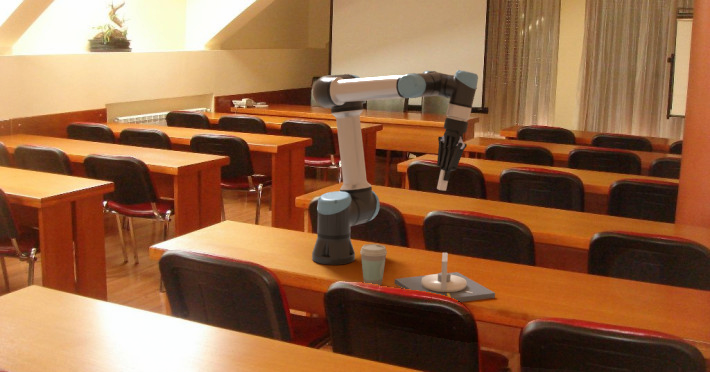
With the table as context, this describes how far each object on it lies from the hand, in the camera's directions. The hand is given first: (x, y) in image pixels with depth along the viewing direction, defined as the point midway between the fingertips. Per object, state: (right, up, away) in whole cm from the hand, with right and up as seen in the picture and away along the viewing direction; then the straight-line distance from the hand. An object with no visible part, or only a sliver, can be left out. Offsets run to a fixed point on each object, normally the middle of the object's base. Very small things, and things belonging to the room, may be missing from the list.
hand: (441, 189), depth 258 cm
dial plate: (-1, -31, -11) cm, 33 cm away
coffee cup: (-23, -30, -5) cm, 38 cm away
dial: (-1, -30, -13) cm, 33 cm away
